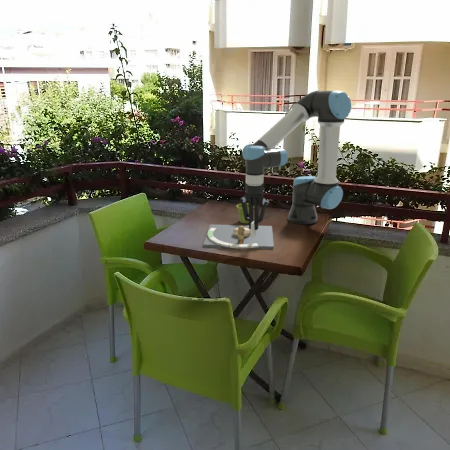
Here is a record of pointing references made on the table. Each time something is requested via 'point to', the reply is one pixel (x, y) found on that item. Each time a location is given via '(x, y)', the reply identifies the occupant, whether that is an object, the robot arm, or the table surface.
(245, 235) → the dial
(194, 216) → the table surface
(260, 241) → the scale board
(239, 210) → the plant pot
